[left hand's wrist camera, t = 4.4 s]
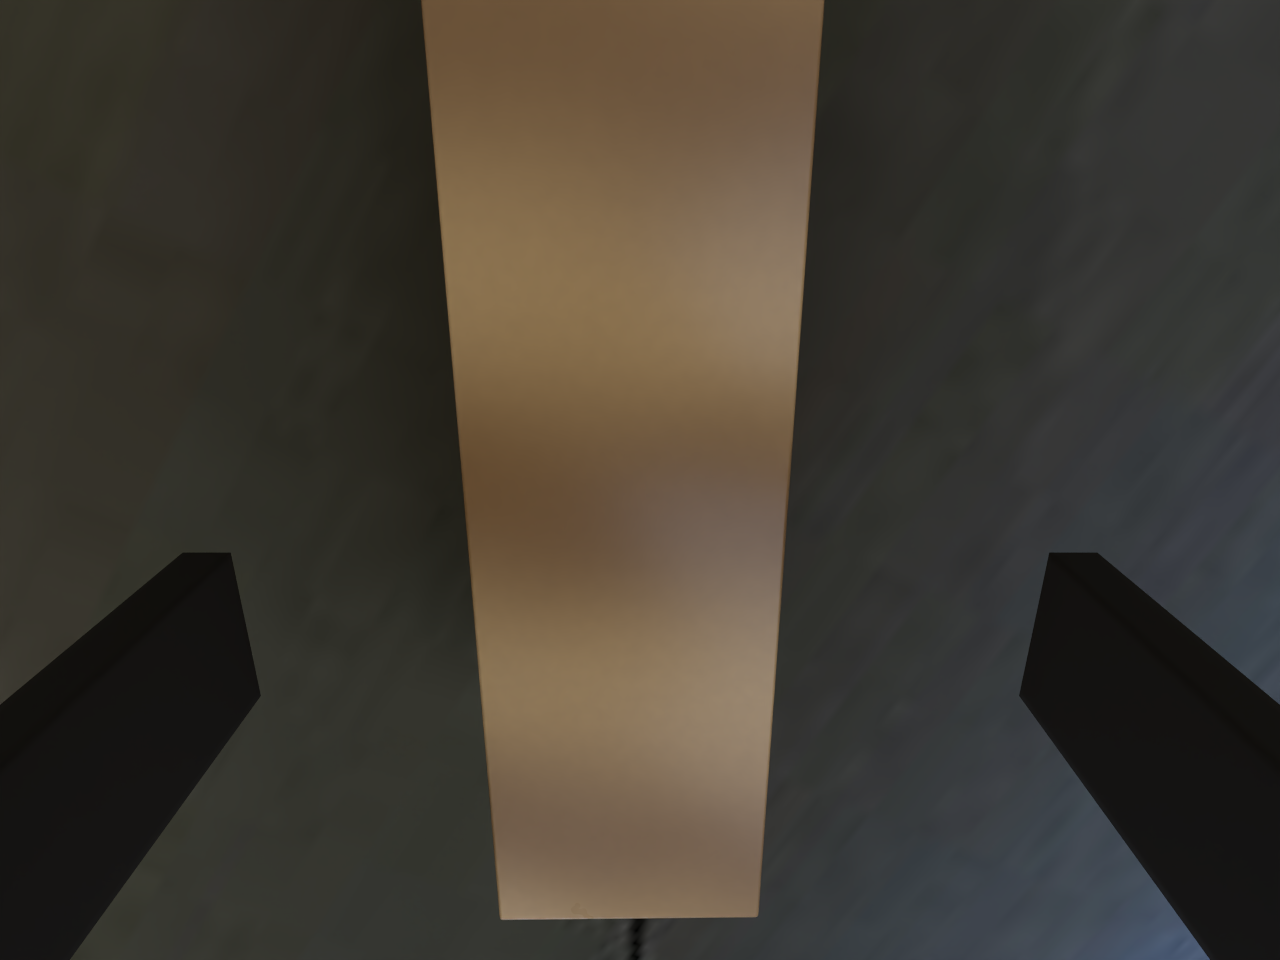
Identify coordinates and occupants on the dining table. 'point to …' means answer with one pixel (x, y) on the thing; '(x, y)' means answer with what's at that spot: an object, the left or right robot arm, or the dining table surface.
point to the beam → (625, 425)
